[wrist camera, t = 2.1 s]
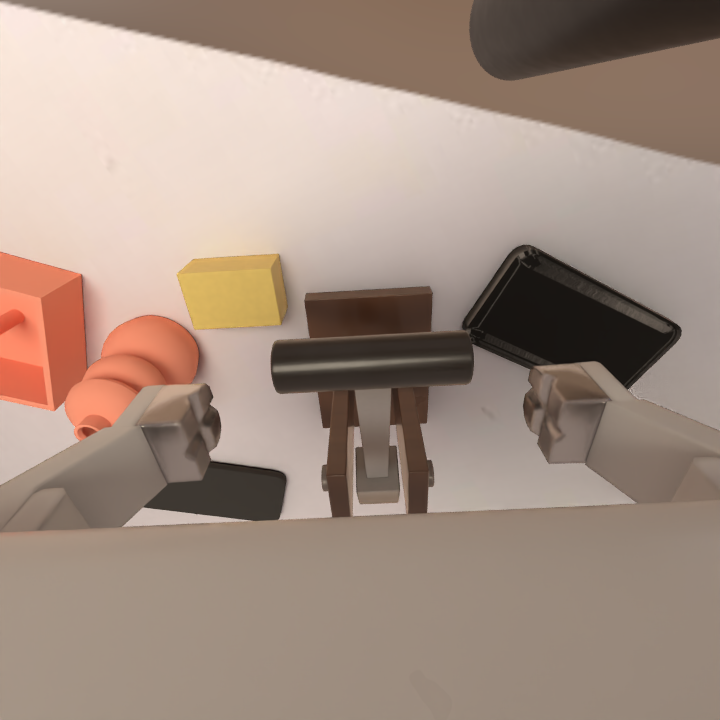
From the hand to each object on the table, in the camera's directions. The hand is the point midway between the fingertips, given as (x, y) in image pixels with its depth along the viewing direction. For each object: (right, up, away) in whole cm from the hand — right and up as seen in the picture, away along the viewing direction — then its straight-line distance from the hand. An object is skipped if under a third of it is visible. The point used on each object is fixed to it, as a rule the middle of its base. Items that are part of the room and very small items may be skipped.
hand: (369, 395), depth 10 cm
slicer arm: (0, -1, +7) cm, 7 cm away
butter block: (-9, +6, +18) cm, 21 cm away
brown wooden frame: (+1, +1, +22) cm, 22 cm away
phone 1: (-15, -12, +30) cm, 35 cm away
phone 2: (+16, +3, +20) cm, 26 cm away
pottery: (-21, +3, +20) cm, 30 cm away
